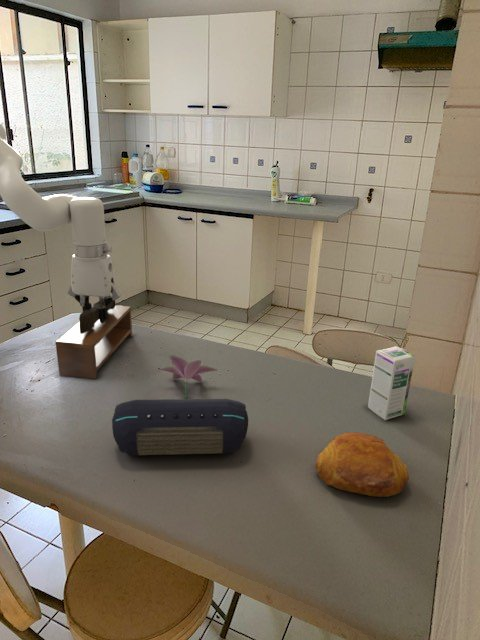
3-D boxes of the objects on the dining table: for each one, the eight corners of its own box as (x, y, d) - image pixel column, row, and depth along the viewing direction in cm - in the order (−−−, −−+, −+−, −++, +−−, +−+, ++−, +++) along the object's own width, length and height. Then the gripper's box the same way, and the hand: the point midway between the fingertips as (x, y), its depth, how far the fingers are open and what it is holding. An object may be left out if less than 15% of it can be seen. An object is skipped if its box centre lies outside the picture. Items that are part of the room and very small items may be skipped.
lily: (223, 395, 108) (221, 354, 109) (195, 398, 98) (193, 353, 99) (180, 396, 113) (179, 357, 115) (150, 400, 103) (148, 356, 104)
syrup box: (385, 421, 99) (396, 360, 93) (366, 407, 104) (376, 349, 98) (404, 415, 101) (416, 355, 96) (385, 401, 106) (396, 344, 101)
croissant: (401, 522, 76) (417, 486, 72) (308, 490, 79) (320, 454, 75) (398, 464, 89) (412, 431, 85) (319, 438, 91) (329, 406, 88)
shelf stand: (59, 375, 111) (55, 341, 108) (102, 332, 135) (100, 303, 132) (95, 379, 110) (92, 345, 107) (132, 335, 134) (130, 306, 131)
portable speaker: (109, 468, 82) (105, 420, 78) (118, 433, 91) (114, 389, 87) (249, 464, 84) (252, 418, 80) (244, 431, 93) (247, 388, 90)
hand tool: (102, 307, 128) (101, 291, 126) (116, 308, 127) (115, 292, 126) (70, 334, 110) (68, 316, 109) (86, 336, 110) (84, 318, 108)
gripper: (128, 249, 115) (132, 317, 122) (65, 244, 116) (72, 312, 123) (117, 256, 108) (121, 328, 115) (50, 251, 110) (58, 323, 117)
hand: (96, 319), depth 119 cm, fingers closed on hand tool, 3 cm apart
